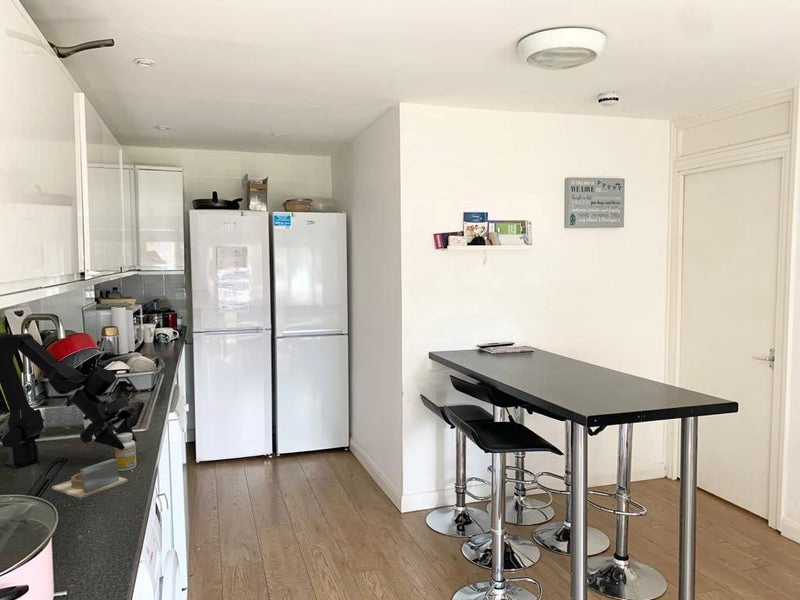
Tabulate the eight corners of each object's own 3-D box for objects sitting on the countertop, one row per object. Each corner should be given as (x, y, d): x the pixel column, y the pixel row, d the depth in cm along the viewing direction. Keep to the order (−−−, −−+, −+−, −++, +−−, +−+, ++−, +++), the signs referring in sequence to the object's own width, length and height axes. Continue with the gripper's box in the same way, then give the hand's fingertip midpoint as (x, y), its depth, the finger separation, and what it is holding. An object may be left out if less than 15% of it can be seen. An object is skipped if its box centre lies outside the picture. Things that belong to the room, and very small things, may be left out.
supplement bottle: (120, 464, 173) (118, 432, 172) (139, 464, 173) (137, 431, 173) (112, 471, 168) (111, 437, 167) (132, 470, 168) (130, 437, 167)
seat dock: (51, 488, 156) (50, 464, 155) (99, 472, 167) (97, 450, 166) (80, 498, 149) (78, 473, 149) (127, 481, 160) (126, 458, 160)
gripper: (87, 395, 160) (127, 436, 159) (129, 380, 178) (164, 417, 178) (62, 422, 162) (102, 464, 161) (106, 405, 180) (141, 442, 179)
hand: (129, 445), depth 170 cm, fingers closed on supplement bottle, 5 cm apart
